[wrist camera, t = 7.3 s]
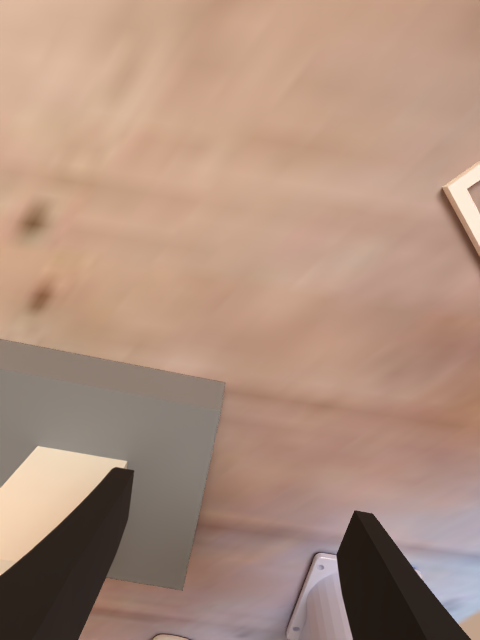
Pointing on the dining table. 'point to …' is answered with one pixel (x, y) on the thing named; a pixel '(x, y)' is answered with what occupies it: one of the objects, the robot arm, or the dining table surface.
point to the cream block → (45, 497)
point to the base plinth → (119, 442)
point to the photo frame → (466, 202)
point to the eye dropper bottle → (168, 637)
